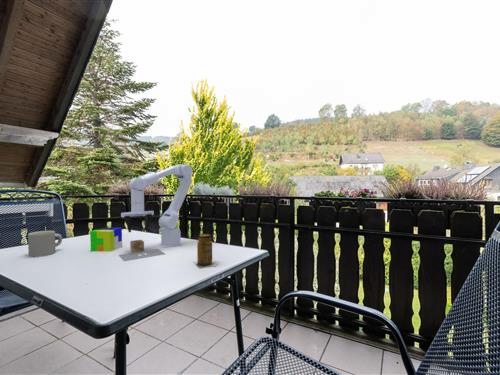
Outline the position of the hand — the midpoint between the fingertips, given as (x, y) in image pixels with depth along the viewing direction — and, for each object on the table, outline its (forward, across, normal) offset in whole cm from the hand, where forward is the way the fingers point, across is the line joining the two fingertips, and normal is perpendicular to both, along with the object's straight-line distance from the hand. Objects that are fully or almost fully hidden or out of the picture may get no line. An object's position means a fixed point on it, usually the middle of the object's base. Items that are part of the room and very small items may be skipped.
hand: (138, 230), depth 130 cm
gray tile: (+10, 0, -8) cm, 13 cm away
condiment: (+10, +17, -37) cm, 42 cm away
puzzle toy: (+10, -12, +14) cm, 21 cm away
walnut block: (+10, 0, 0) cm, 10 cm away
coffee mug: (+10, -36, +22) cm, 43 cm away
